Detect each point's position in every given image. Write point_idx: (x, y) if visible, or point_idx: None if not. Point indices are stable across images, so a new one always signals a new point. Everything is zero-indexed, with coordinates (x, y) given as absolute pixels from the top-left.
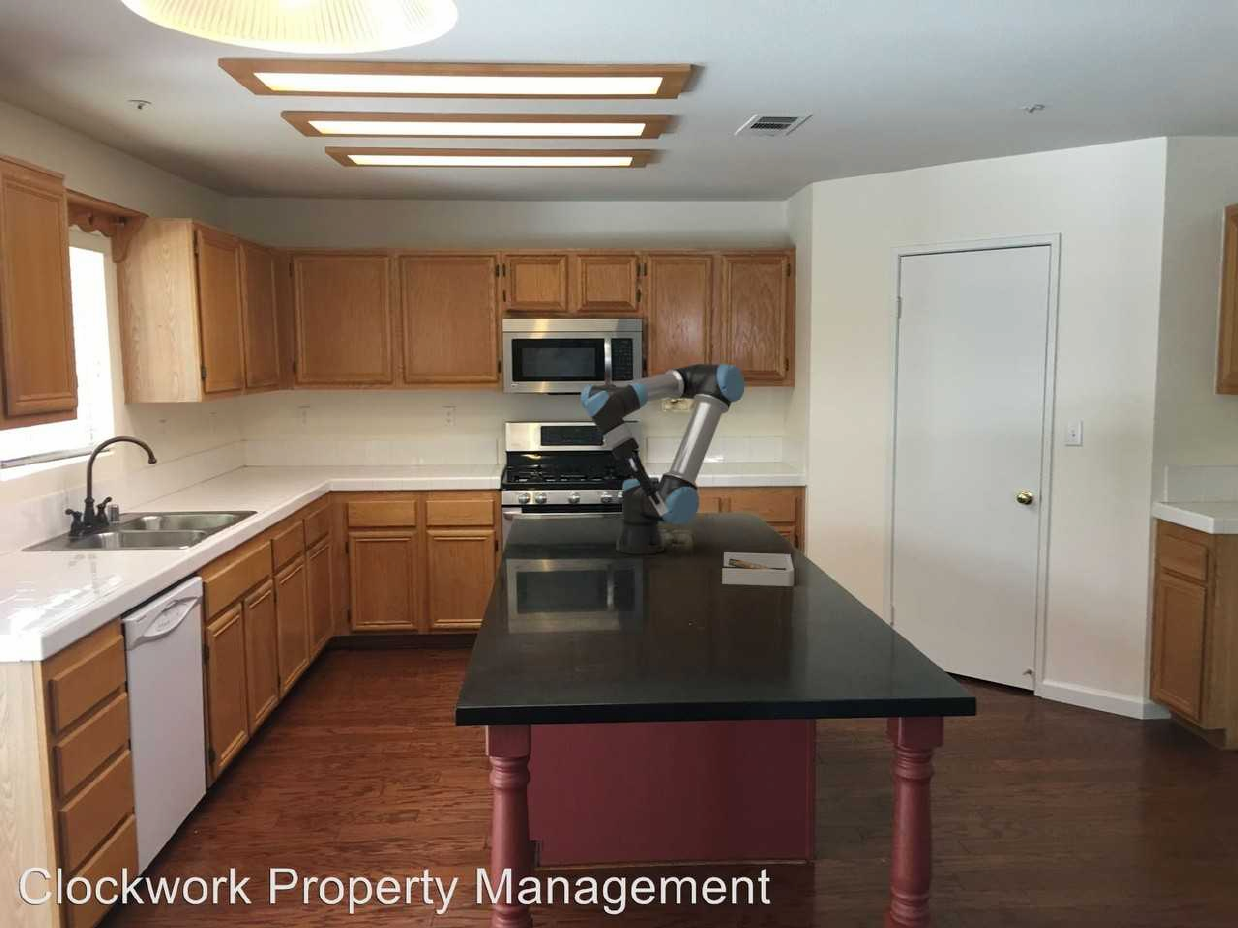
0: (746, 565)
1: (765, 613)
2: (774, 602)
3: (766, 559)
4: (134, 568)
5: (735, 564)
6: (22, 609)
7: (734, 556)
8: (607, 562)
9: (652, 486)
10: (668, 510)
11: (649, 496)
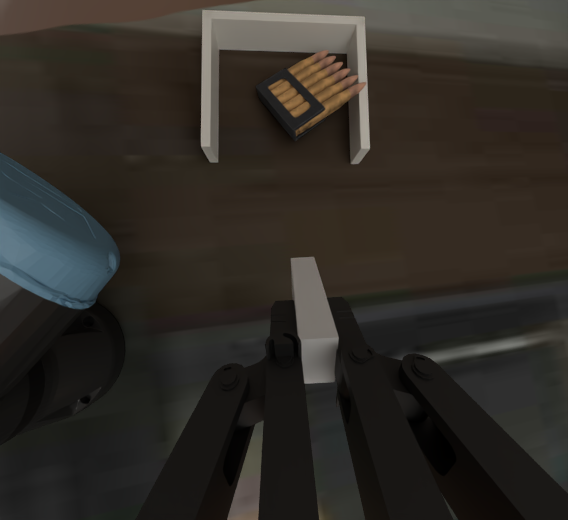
0: (348, 99)
1: (525, 100)
2: (462, 84)
3: (214, 68)
4: None
5: (313, 124)
6: None
7: (212, 128)
8: None
9: (388, 392)
10: (291, 259)
11: (334, 376)
